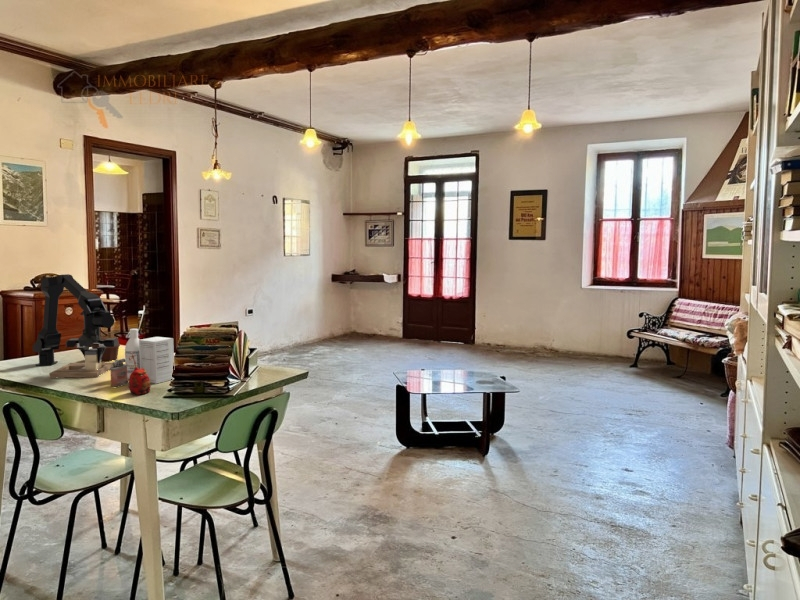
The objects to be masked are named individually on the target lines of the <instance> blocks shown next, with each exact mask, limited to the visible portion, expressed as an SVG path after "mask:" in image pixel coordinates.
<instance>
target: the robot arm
mask: <svg viewBox="0 0 800 600" xmlns="http://www.w3.org/2000/svg"><path fill="white" fill-rule="evenodd" d="M40 288H41V292H42V293H43V295H44V306H43V307H44V308H43V309H44V310H43V323H42V329H41V330H40V331H39V332H38V333H37V338H36V341H35V342H34V344H33V345H32V351H33V352H34V353H38V363H36V364H35V366H53V365H55V364H57V363H58V361H57V360H56V361H55V350H60V345H61V342H62V339H61V338H62V333H61V332H59V330H58V329H57V325H58V324H57V323H58V309H59V299H60V296H61V295H62V294H63V292H64V291H65V290H64V289H66V290H67V292H69V293H70V294H71V295H72V296H73V297H74V298H75V299H76V300H77V305H78V307H80V308H81V310H82V311H81V312H80V316H83V328H84V329H82V334H81V335H80V336H79V338H78V337H77V338H70V339H67V340H66V341H65V347H66V348H75V349H76V350H79V351H80V352H81V353H82V355H83V357H84V358H85V351H87V350H89V349H90V347H92V346H93V345H99V347H98V348H97V350H98V363H100V361H101V358H102V356H103V353H104V351H105V349H106V348H107V347H114V346H116V345H118V344H120V342H119V339H118V338H117V337H107V338H108V339H106V340H101V339H102V337H101V330H102V328H103V329H110V328H112V327H113V326H114V325H115V318H114V316H113V315H112V314H111V313H110V311H108V310H107V307H106V306H105V304H104V302H103V300H102V298H101V297H100V296H99V295H97V294H96V293H93V292H90V291H88V290H86V288H85V287H83V286H82V285H81V284H80V283H79V282H78V281H77V280H76V279H75V278H74V277H73V275H72V274H69V273H67V274H66V273H65V274H59V275H55V276H45V277H43V278H41V280H40Z"/></svg>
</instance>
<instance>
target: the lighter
mask: <svg viewBox="0 0 800 600" xmlns="http://www.w3.org/2000/svg"><path fill="white" fill-rule="evenodd" d="M112 362H113V367H111V368H110V370H109V371H110V388H111V387H117V388H119V387H118V386H121V385H124V384H126V385H128V384H129V379H128V374H127V367H128V364H125V362H126V361H125V358H120V359H116V360H114V361H112ZM127 383H128V384H127ZM124 386H125V385H124ZM121 387H122V386H121Z"/></svg>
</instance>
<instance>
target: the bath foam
mask: <svg viewBox="0 0 800 600" xmlns="http://www.w3.org/2000/svg"><path fill="white" fill-rule="evenodd" d="M138 331H139V329H138V328H130V329H129V339H128V341H127V342H126V344H125V346H124V355H125V356H124V359H125V361H126V362H124V364H128V367H127V374H128V380H129V379H130V375H131V373H132V372H133V371H134V369H135V364H134V360H133V358H132V359H131V360H129V357H130V356H132V354H133V355H134V359H135V362H136V366H137V368H138V369H140V355H139V340H141V339H140V338H139V332H138ZM131 353H132V354H131ZM135 355H136V356H135ZM130 358H131V357H130Z"/></svg>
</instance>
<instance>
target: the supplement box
mask: <svg viewBox="0 0 800 600" xmlns="http://www.w3.org/2000/svg"><path fill="white" fill-rule="evenodd" d="M174 351H175V350H174V338H173V337H164V336H153V337H147V338H143V339H140V340H139V355H140V369H142V368H143V369H144V370H145V371H146V373H147V375H148V377H149V379H150V384H159V383H160V384H161V383H163V382H164V383H165V382H169V381H172V380H173V379H172V368H173V360H174V361H175V352H174ZM171 379H172V380H171Z"/></svg>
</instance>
